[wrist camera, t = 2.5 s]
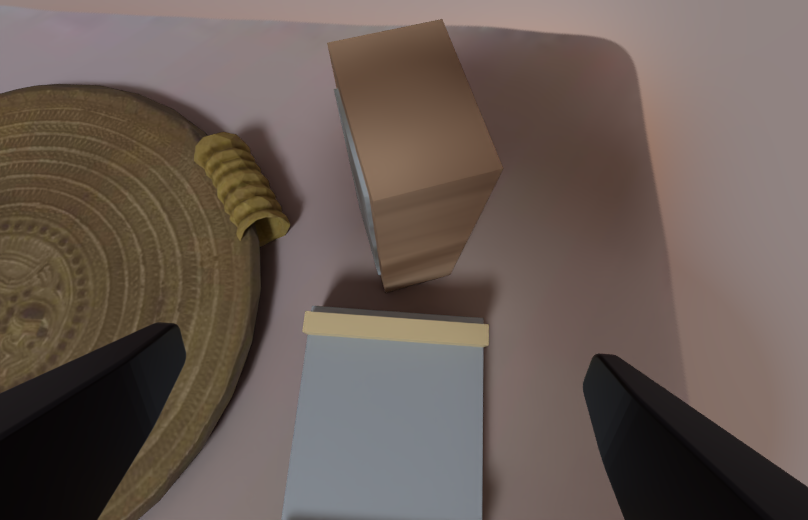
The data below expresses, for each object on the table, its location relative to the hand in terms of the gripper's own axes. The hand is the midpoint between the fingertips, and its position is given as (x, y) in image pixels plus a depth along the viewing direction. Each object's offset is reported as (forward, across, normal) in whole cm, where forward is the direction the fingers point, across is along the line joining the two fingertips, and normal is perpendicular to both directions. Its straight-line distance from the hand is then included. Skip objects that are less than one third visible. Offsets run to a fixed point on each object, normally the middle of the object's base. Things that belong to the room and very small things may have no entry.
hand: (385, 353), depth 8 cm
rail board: (+7, 0, +12) cm, 14 cm away
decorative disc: (+12, +21, +8) cm, 26 cm away
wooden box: (+15, 0, +4) cm, 15 cm away
